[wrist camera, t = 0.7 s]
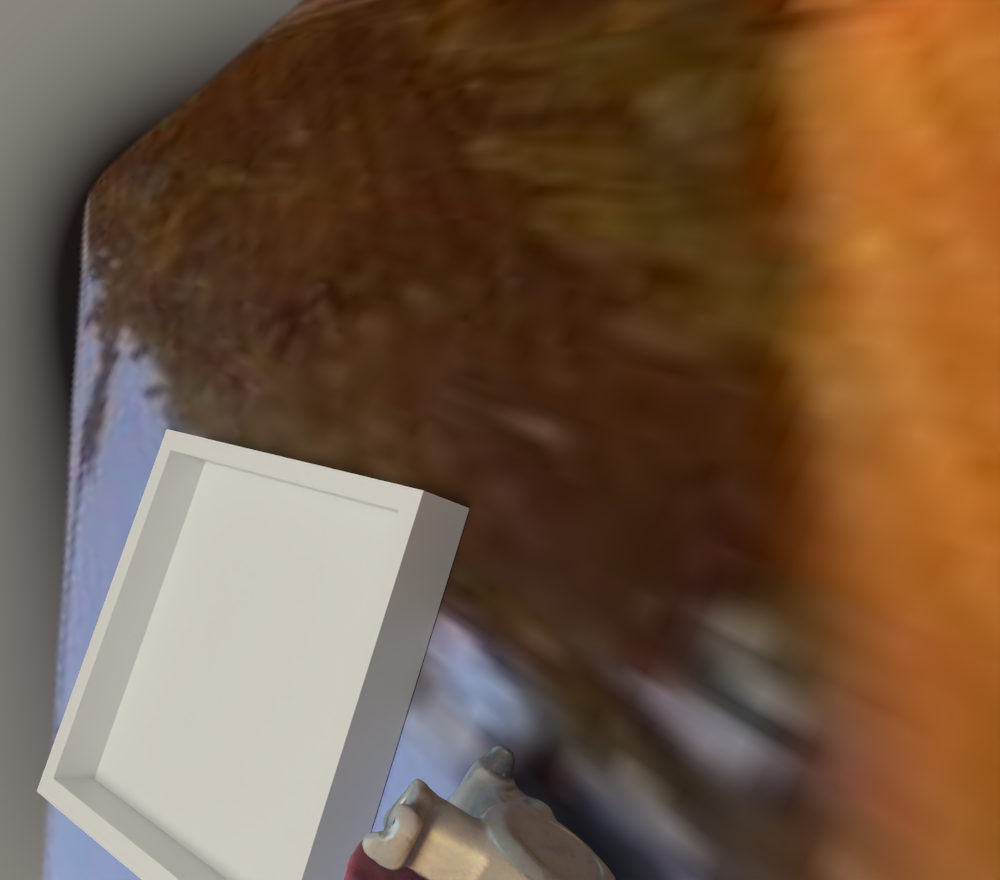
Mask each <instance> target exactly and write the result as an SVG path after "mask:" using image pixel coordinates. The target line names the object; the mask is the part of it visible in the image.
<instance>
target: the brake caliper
mask: <svg viewBox="0 0 1000 880" xmlns="http://www.w3.org/2000/svg"><path fill="white" fill-rule="evenodd" d="M514 764H515V759H514V756H513V752H511V750H510V749H508V748H506V747H504V746H495V747H494V748H492V749H491V751H489V753H488V754H487V755H485V756H484V757H482V758H481V759H479V760H477V761H476V762H475V763H474V764H473V765H472V767H471V768H470V769H469V771H468V772H467V774H466V775H465V777H464V779H463V780H462V782H461V783H460V785H459V786H458V788H457V789H456V791H455V792H454V793H453V794H452V795H451V796H450V797H449V798H448V799H447V800H444V799H442V798H441V797H439V796H438V795H437V794H436V793H434V792H433V791H432V790H431V789H430V788H429V787H428V785H427V784H426V783H425V782H423V781H422V780H420V779H416V780H414V781H413V782H412V783H411V784H410V786H409V787H408V789H407V790H406V791H405V792H404V794H402V796H401V797H400V798H399V799H398V801H397V802H396V803H395V804H394V805H393V807H392V808H391V809H389V811H388V812H387V813H386V815H385V817H384V831H381V832H371V833H368V834H366V835H365V837H364V839H363V840H362V841H361V842H360V843H359V844H358V845H357V847H356V849H355V851H354V852H353V853H352V855H351V856H350V859H349V861H348V865H347V871H346V874H345V877H344V880H616V879H615V877H614V875H613V874H612V873H611V871H610V870H609V868H608V867H607V866H606V864H605V863H604V862H603V861H602V860H601V859H600V858H599V857H598V856H597V855H596V854H595V853H594V852H593V850H592V849H591V848H590V847H589V846H588V845H586V844H585V843H584V842H583V841H582V840H581V839H580V838H579V837H577V836H576V835H575V834H574V833H572V832H571V831H570V830H569V829H567V828H566V827H565V826H563V825H562V824H560V823H559V822H557V821H556V820H555V817H554V814H553V812H552V810H551V809H550V807H549V806H548V805H547V804H545V803H544V802H542V801H540V800H538V799H535V798H532V797H528V796H527V795H525V794H524V793H523V792H522V791H520V789H519V788H518V787H517V785H516V784H515V780H514Z"/></svg>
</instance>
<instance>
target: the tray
mask: <svg viewBox="0 0 1000 880" xmlns="http://www.w3.org/2000/svg"><path fill="white" fill-rule="evenodd" d="M468 512H469V508H467V507H465V506H462V505H459V504H457V503H454V502H452V501H449V500H447V499H444V498H442V497H439V496H436V495H434V494H431V493H429V492H426V491H424V490H419V489H415V488H411V487H407V486H403V485H398V484H394V483H390V482H386V481H382V480H377V479H373V478H369V477H365V476H361V475H357V474H352V473H348V472H344V471H340V470H336V469H331V468H327V467H323V466H319V465H315V464H310V463H306V462H302V461H298V460H294V459H290V458H285V457H281V456H277V455H273V454H269V453H264V452H260V451H256V450H252V449H248V448H243V447H239V446H235V445H231V444H227V443H223V442H218V441H214V440H210V439H206V438H202V437H197V436H193V435H189V434H185V433H181V432H176V431H172V430H168V429H167V430H166V433H165V436H164V438H163V441H162V444H161V447H160V450H159V452H158V455H157V458H156V461H155V464H154V466H153V469H152V472H151V475H150V477H149V480H148V483H147V486H146V489H145V491H144V494H143V497H142V500H141V502H140V505H139V508H138V511H137V514H136V516H135V519H134V522H133V525H132V528H131V530H130V533H129V536H128V539H127V541H126V544H125V547H124V550H123V553H122V555H121V558H120V561H119V564H118V566H117V569H116V572H115V575H114V578H113V580H112V583H111V586H110V589H109V592H108V594H107V597H106V600H105V603H104V605H103V608H102V611H101V614H100V617H99V619H98V622H97V625H96V628H95V631H94V633H93V636H92V639H91V642H90V644H89V647H88V650H87V653H86V656H85V658H84V661H83V664H82V667H81V669H80V672H79V675H78V678H77V681H76V683H75V686H74V689H73V692H72V695H71V697H70V700H69V703H68V706H67V708H66V711H65V714H64V717H63V720H62V722H61V725H60V728H59V731H58V733H57V736H56V739H55V742H54V745H53V747H52V750H51V753H50V756H49V759H48V761H47V764H46V767H45V770H44V772H43V775H42V778H41V781H40V784H39V786H38V789H37V792H38V793H40V794H41V795H42V796H43V797H44V798H45V799H47V800H48V801H49V802H50V803H51V804H52V805H54V806H55V807H56V808H57V809H58V810H60V811H61V812H62V813H63V814H64V815H66V816H67V817H68V818H69V819H70V820H71V821H73V822H74V823H75V824H76V825H77V826H79V827H80V828H81V829H82V830H83V831H84V832H86V833H87V834H88V835H89V836H90V837H92V838H93V839H94V840H95V841H96V842H98V843H99V844H100V845H101V846H102V847H103V848H105V849H106V850H107V851H108V852H109V853H111V854H112V855H113V856H114V857H115V858H116V859H118V860H119V861H120V862H121V863H122V864H124V865H125V866H126V867H127V868H128V869H130V870H131V871H132V872H133V873H134V874H135V875H137V876H138V877H139V878H140V879H141V880H344V877H345V874H346V871H347V865H348V861H349V859H350V856H351V855H352V853H353V852H354V851H355V849H356V847H357V845H358V844H359V843H360V842H361V841H362V840H363V839H364V837H365V835H366V834H368V833H371V830H372V826H373V823H374V820H375V816H376V813H377V810H378V807H379V803H380V800H381V797H382V794H383V790H384V787H385V784H386V780H387V777H388V774H389V771H390V767H391V764H392V761H393V757H394V754H395V751H396V748H397V744H398V741H399V738H400V735H401V731H402V728H403V725H404V721H405V718H406V715H407V712H408V708H409V705H410V702H411V698H412V695H413V692H414V689H415V685H416V682H417V679H418V676H419V672H420V669H421V666H422V662H423V659H424V656H425V653H426V649H427V646H428V643H429V639H430V636H431V633H432V630H433V626H434V623H435V620H436V617H437V613H438V610H439V607H440V603H441V600H442V597H443V594H444V590H445V587H446V584H447V580H448V577H449V574H450V571H451V567H452V564H453V561H454V558H455V554H456V551H457V548H458V544H459V541H460V538H461V535H462V531H463V528H464V525H465V521H466V518H467V515H468Z"/></svg>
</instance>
